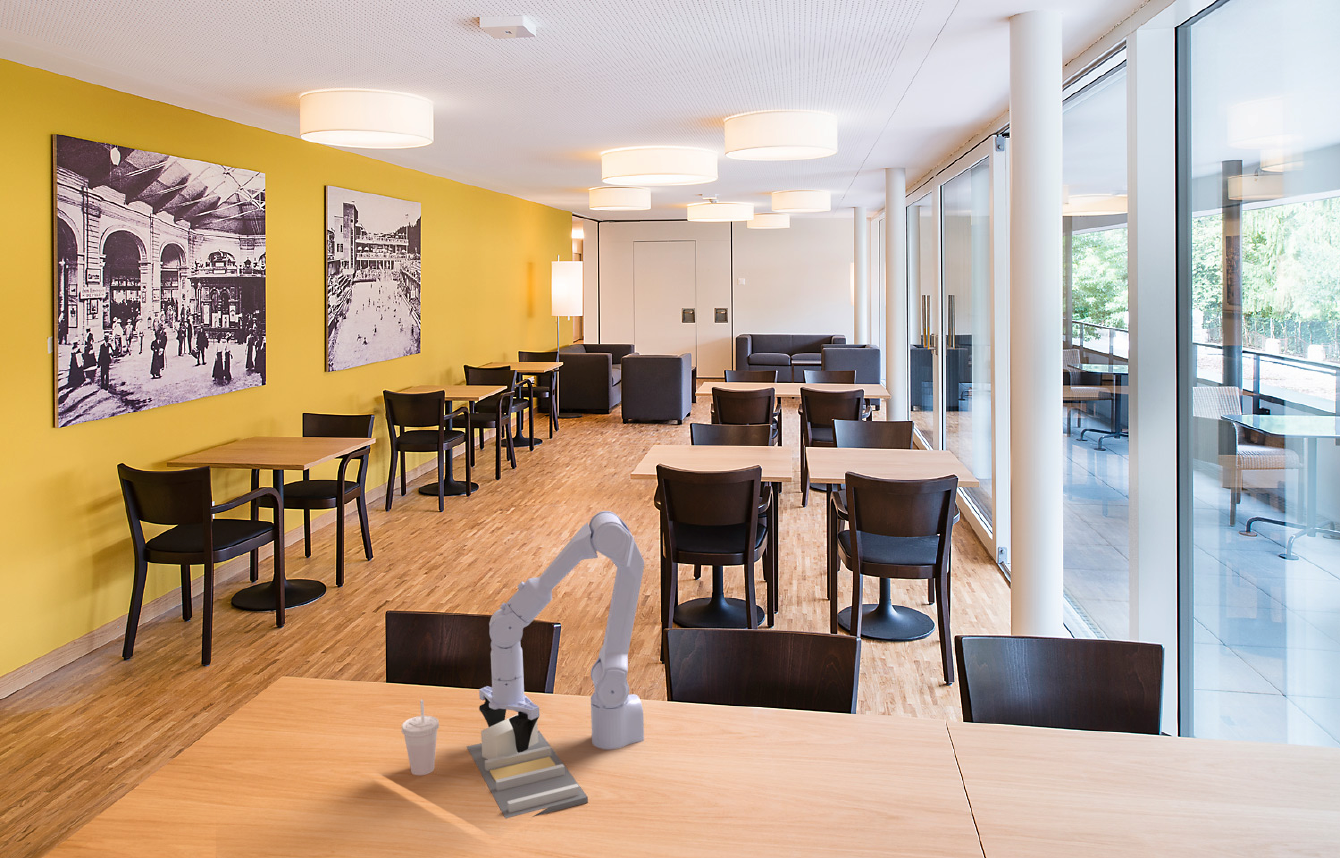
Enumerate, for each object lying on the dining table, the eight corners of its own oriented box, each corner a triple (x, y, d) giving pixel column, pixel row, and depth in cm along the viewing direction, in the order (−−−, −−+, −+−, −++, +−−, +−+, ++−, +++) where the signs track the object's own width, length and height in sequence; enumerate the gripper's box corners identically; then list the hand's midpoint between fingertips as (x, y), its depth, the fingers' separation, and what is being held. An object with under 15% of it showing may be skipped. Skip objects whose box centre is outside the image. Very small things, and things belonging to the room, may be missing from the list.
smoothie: (431, 785, 158) (427, 709, 156) (397, 782, 159) (393, 706, 157) (447, 767, 164) (443, 693, 162) (414, 764, 165) (410, 691, 164)
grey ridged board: (539, 735, 176) (538, 723, 176) (587, 802, 152) (587, 788, 151) (467, 751, 170) (466, 738, 170) (505, 824, 146) (505, 809, 145)
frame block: (523, 736, 173) (522, 711, 173) (538, 742, 171) (537, 717, 170) (482, 756, 166) (481, 730, 165) (496, 763, 163) (495, 737, 163)
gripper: (465, 672, 168) (468, 741, 170) (517, 692, 159) (520, 765, 161) (494, 660, 173) (497, 728, 175) (547, 679, 164) (549, 750, 166)
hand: (510, 745), depth 168 cm, fingers open, 6 cm apart
